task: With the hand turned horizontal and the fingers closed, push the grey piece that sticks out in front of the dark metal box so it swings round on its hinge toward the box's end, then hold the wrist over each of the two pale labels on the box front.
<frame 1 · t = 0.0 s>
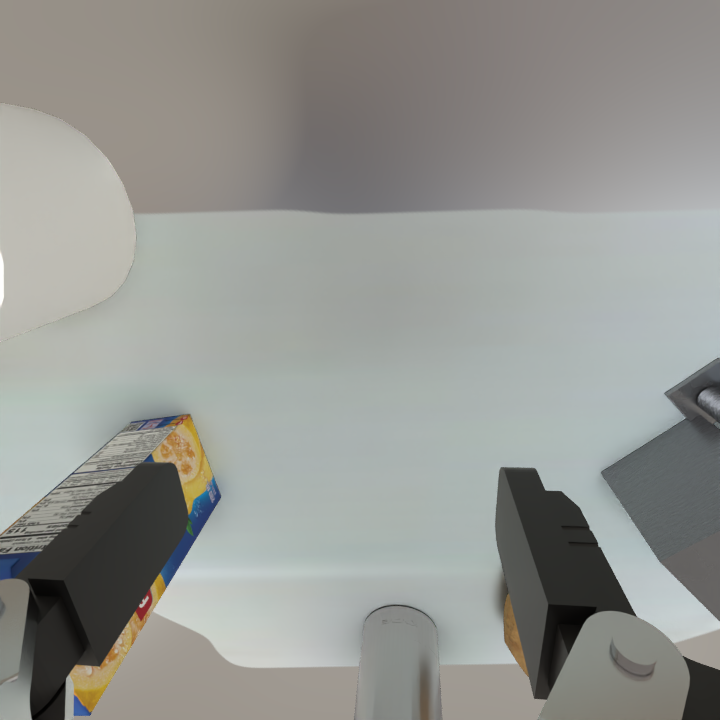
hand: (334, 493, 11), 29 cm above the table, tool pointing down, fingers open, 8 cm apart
potato: (538, 589, 50), on the table
white l-shaped bracket: (46, 216, 39), on the table
blue boxy piece: (178, 459, 48), on the table
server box: (694, 494, 43), on the table
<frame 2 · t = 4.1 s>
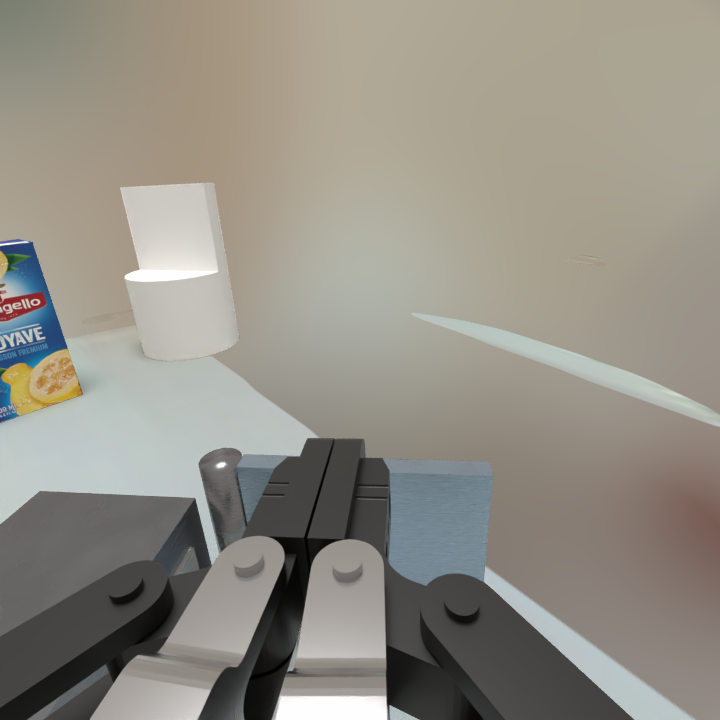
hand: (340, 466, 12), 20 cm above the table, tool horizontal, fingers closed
grey piece: (346, 546, 27), point 7 cm above the table, hinge at 0.0°
white l-shaped bracket: (193, 344, 83), on the table
blue boxy piece: (34, 403, 63), on the table
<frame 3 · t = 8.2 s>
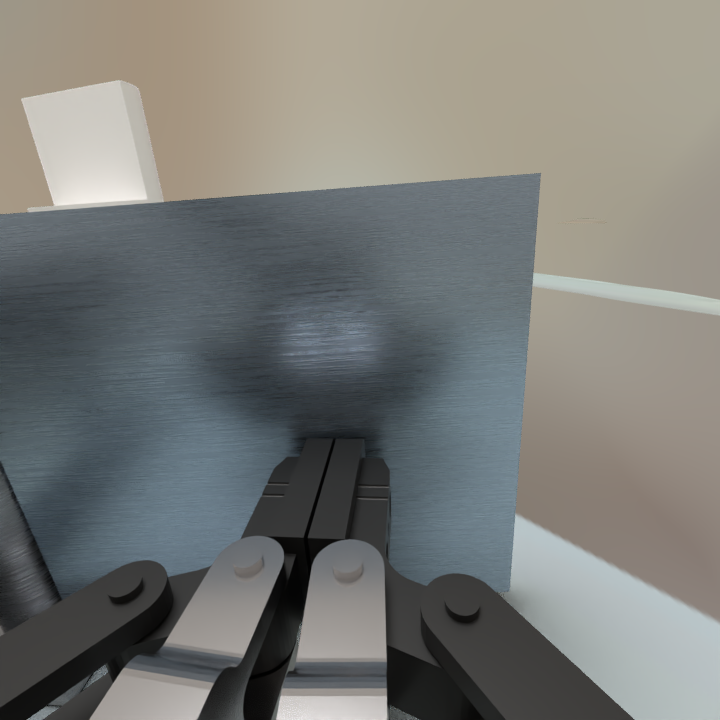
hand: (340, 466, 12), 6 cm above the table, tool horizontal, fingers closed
grey piece: (218, 433, 12), point 7 cm above the table, hinge at 5.0°, touching gripper
white l-shaped bracket: (125, 298, 68), on the table
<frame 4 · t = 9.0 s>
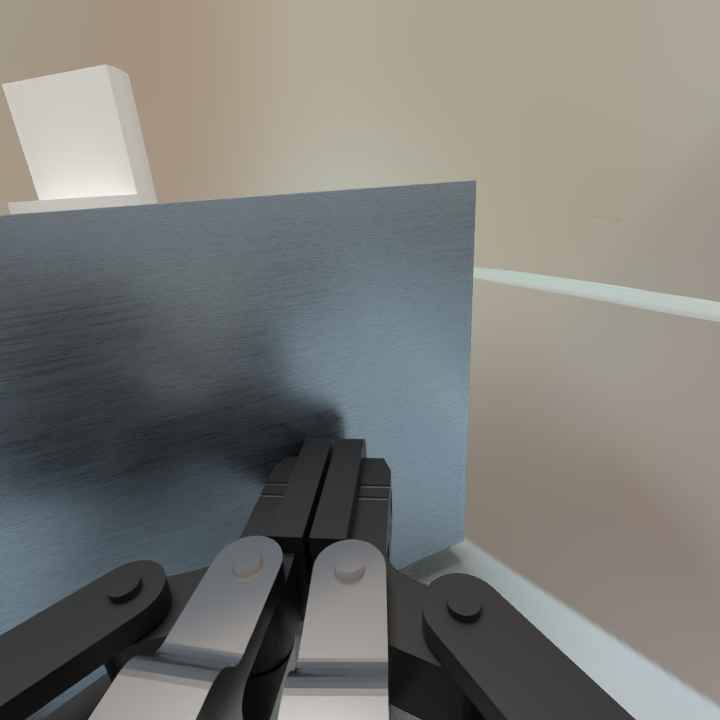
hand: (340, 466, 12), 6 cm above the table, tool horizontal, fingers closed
grey piece: (188, 461, 11), point 7 cm above the table, hinge at 29.8°, touching gripper
white l-shaped bracket: (114, 299, 64), on the table
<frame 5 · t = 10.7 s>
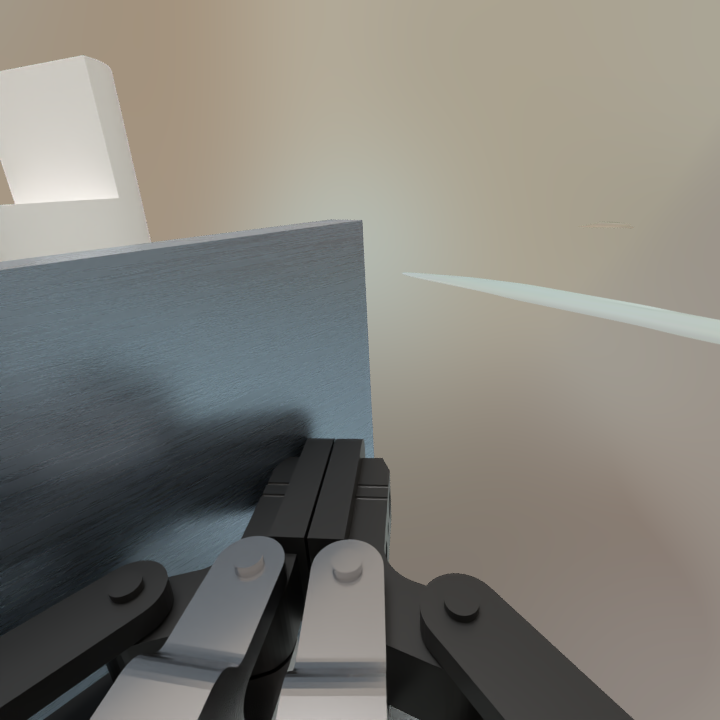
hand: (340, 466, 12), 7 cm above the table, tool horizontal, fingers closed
grey piece: (60, 591, 8), point 7 cm above the table, hinge at 50.9°, touching gripper
white l-shaped bracket: (96, 310, 59), on the table
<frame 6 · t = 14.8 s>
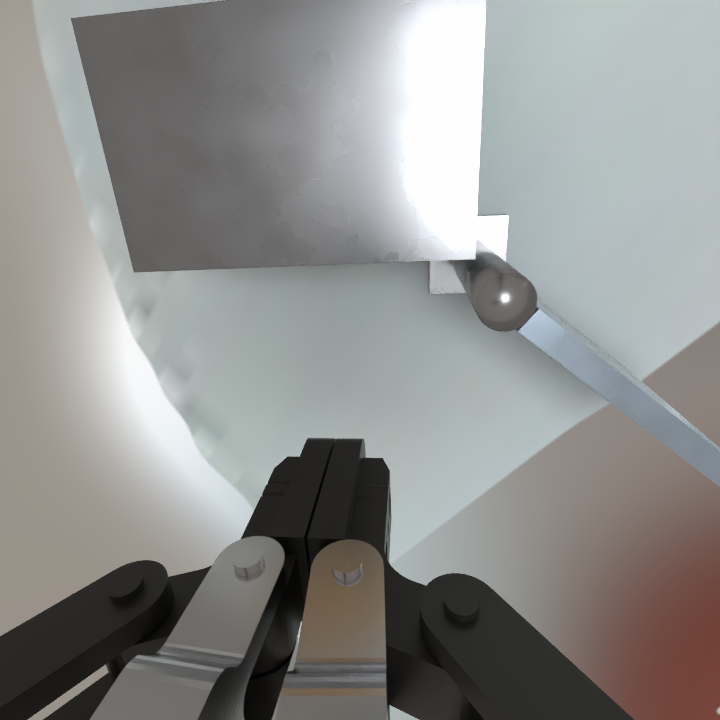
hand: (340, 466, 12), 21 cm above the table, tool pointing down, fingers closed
grey piece: (579, 349, 24), point 7 cm above the table, hinge at 51.1°
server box: (328, 159, 28), on the table
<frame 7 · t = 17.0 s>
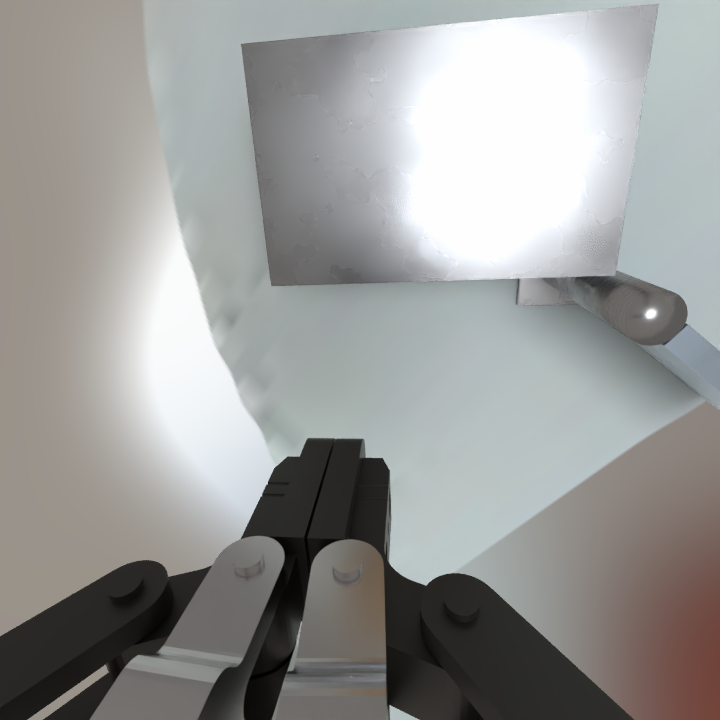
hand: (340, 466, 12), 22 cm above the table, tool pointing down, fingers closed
grey piece: (685, 361, 25), point 7 cm above the table, hinge at 51.1°
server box: (426, 174, 29), on the table
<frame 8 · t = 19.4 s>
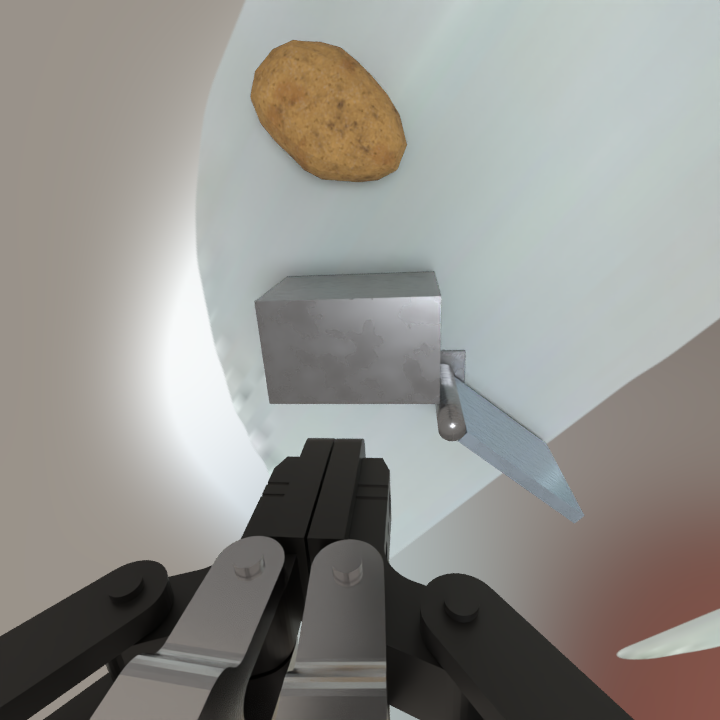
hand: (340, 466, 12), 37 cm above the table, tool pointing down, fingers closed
potato: (340, 125, 42), on the table
grey piece: (499, 435, 45), point 7 cm above the table, hinge at 51.1°
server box: (361, 318, 49), on the table
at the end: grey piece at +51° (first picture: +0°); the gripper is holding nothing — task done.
